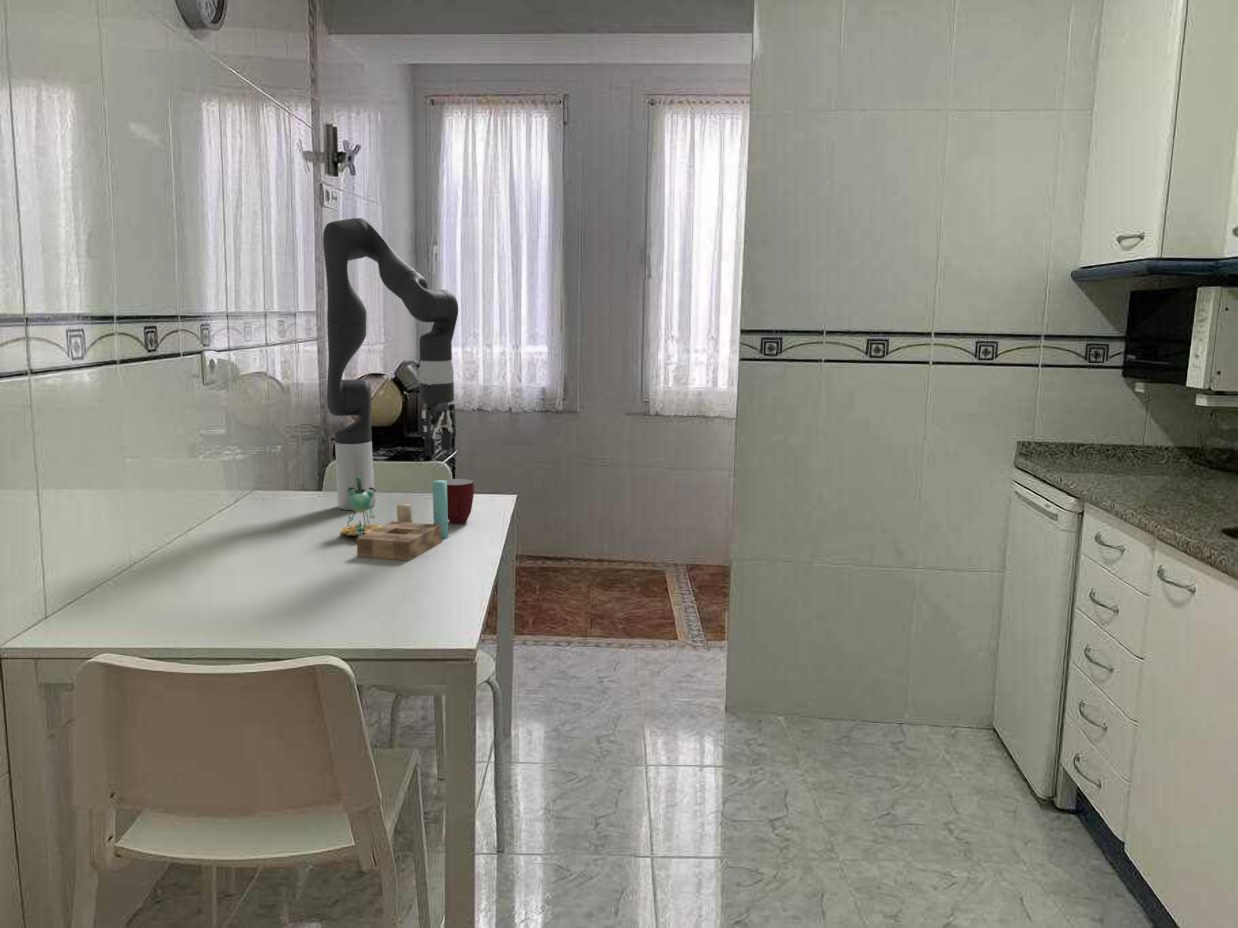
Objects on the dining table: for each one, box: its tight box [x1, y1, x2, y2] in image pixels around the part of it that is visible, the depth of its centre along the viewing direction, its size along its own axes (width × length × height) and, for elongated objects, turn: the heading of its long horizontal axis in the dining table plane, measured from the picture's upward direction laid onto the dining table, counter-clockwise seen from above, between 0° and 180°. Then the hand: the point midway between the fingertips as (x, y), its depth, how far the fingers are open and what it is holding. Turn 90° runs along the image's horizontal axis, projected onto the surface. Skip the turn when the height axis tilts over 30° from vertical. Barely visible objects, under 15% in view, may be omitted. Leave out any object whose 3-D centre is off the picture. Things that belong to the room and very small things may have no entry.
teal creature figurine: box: [339, 476, 382, 542], centre depth 223 cm, size 10×18×15 cm, turn 179°
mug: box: [444, 478, 475, 525], centre depth 234 cm, size 11×8×10 cm
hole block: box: [356, 521, 443, 562], centre depth 211 cm, size 16×12×4 cm
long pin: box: [432, 479, 449, 540], centre depth 220 cm, size 3×3×13 cm
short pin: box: [396, 503, 413, 523], centre depth 223 cm, size 3×3×7 cm
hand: (438, 452), depth 218 cm, fingers open, 8 cm apart
